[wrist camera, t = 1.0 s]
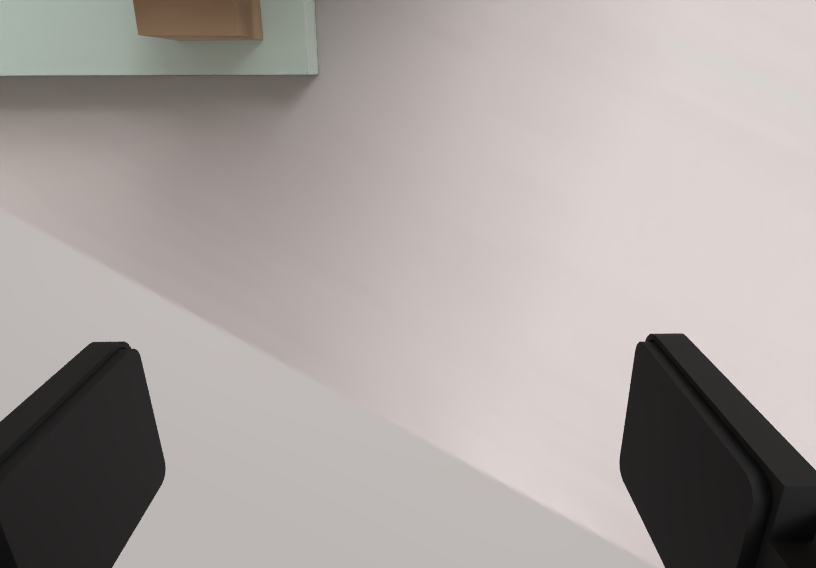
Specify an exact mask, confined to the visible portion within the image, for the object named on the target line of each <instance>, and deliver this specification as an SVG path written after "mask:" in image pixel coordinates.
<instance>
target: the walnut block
mask: <svg viewBox="0 0 816 568" xmlns="http://www.w3.org/2000/svg"><path fill="white" fill-rule="evenodd" d="M133 5H134V11H135V18H136V24H137V30H138V35H141V36H148V37H156V38H163V39H170V40H177V41H216V40H263V30H262V18H261V6H260V0H133Z"/></svg>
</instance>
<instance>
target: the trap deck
mask: <svg viewBox="0 0 816 568" xmlns="http://www.w3.org/2000/svg"><path fill="white" fill-rule="evenodd" d="M260 6H261V18H262V30H263V40H216V41H177V40H170V39H163V38H156V37H148V36H141V35H138V30H137V24H136V18H135V11H134V5H133V0H0V76H23V75H319V73H318V55H317V37H316V19H315V1H314V0H260Z"/></svg>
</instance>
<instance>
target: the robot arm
mask: <svg viewBox="0 0 816 568" xmlns="http://www.w3.org/2000/svg"><path fill="white" fill-rule="evenodd" d="M620 472H621V476H622V479H623V482H624V484H625V486H626V488H627V490H628V492H629V494H630V496H631V498H632V500H633V502H634V504H635V506H636V508H637V510H638V512H639V514H640V517H641V519H642V521H643V523H644V525H645V527H646V529H647V531H648V533H649V535H650V537H651V539H652V541H653V543H654V545H655V547H656V549H657V551H658V554H659V556H660V558H661V560H662V562H663V564H664V566H665V568H816V470H815V469H814V468H813V467H812V466H811V465H810V464H809V463H808V462H807V461H806V460H805V459H804V458H803V457H802V456H801V455H800V454H799V453H798V452H797V451H796V449H795V448H794V447H793V446H792V445H791V444H790V443H789V442H788V441H787V440H786V439H785V438H784V437H783V436H782V435H781V434H780V433H779V432H778V431H777V430H776V429H775V428H774V427H773V426H772V425H771V424H770V423H769V421H768V420H767V419H766V418H765V417H764V416H763V415H762V414H761V413H760V412H759V411H758V410H757V409H756V408H755V407H754V406H753V405H752V404H751V403H750V402H749V401H748V400H747V399H746V398H745V397H744V396H743V395H742V393H741V392H740V391H739V390H738V389H737V388H736V387H735V386H734V385H733V384H732V383H731V382H730V381H729V380H728V379H727V378H726V377H725V376H724V375H723V374H722V373H721V372H720V371H719V370H718V369H717V368H716V367H715V365H714V364H713V363H712V362H711V361H710V360H709V359H708V358H707V357H706V356H705V355H704V354H703V353H702V352H701V351H700V350H699V349H698V348H697V347H696V346H695V345H694V344H693V343H692V342H691V341H690V340H689V339H688V338H687V336H685V335H684V334H650V335H648V336H647V338H646V341H645V342H639V343H638V344H637V346H636V350H635V357H634V363H633V370H632V377H631V384H630V391H629V398H628V405H627V412H626V419H625V426H624V433H623V440H622V446H621V453H620ZM164 476H165V461H164V456H163V452H162V448H161V443H160V439H159V435H158V430H157V426H156V422H155V417H154V413H153V409H152V405H151V400H150V396H149V391H148V387H147V383H146V378H145V374H144V370H143V365H142V361H141V357H140V354H139V352H138V351H137V350H136V349H131V347H130V346H129V344H128V343H126V342H92V343H91V344H89V345H88V346H87V347H85V348H84V349H83V350H82V351H81V352H80V353H79V354H77V355H76V356H75V357H74V358H73V359H72V360H71V361H69V362H68V363H67V364H66V365H65V366H64V367H63V368H61V369H60V370H59V371H58V372H57V373H56V374H55V375H53V376H52V377H51V378H50V379H49V380H48V381H46V382H45V383H44V384H43V385H42V386H41V387H40V388H38V389H37V390H36V391H35V392H34V393H33V394H32V395H31V396H29V397H28V398H27V399H26V400H25V401H24V402H22V403H21V404H20V405H19V406H18V407H17V408H16V409H14V410H13V411H12V412H11V413H10V414H9V415H8V416H6V417H5V418H4V419H3V420H2V421H1V422H0V568H112V567H113V565H114V563H115V562H116V560H117V558H118V556H119V555H120V553H121V552H122V550H123V548H124V547H125V545H126V543H127V542H128V540H129V538H130V536H131V535H132V533H133V531H134V530H135V528H136V526H137V525H138V523H139V521H140V520H141V518H142V516H143V515H144V513H145V511H146V510H147V508H148V506H149V505H150V503H151V501H152V500H153V498H154V496H155V495H156V493H157V491H158V490H159V488H160V486H161V485H162V482H163V480H164Z"/></svg>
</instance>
